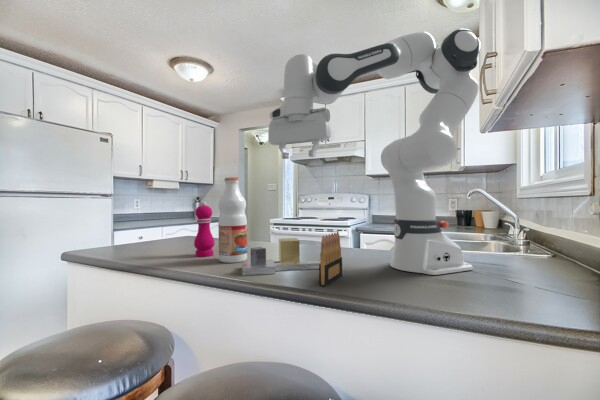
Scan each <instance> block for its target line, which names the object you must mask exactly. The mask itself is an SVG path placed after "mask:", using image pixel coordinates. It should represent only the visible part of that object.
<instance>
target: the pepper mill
mask: <svg viewBox="0 0 600 400" xmlns="http://www.w3.org/2000/svg"><path fill="white" fill-rule="evenodd" d="M194 215H195V217H197V218H196V223H197V225H198V227H197V228H198V230H197V233H196V236H195V238H194V243H193V246H194V248H195V249H196V251H195V257H198V258H207V257H212V256H214V249H213V248H214V246H215V239H214V236H213V234H212V232H211V226H210V225H211V223H212V218H211V217H212V216H213V210H212V208H211V206H209V205H207V202H206V200H205V201H204V200H203V201H202V202H200V205H199V206H197V207H196V209H195V214H194Z"/></svg>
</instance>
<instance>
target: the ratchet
mask: <svg viewBox="0 0 600 400" xmlns="http://www.w3.org/2000/svg"><path fill="white" fill-rule="evenodd" d="M319 264H320V260H307V261H300V262H285V263H279V262H275V261H274V259H267V247H262V246H258V247H251V248H250V260H245V261H242V268H241V275H242V276H257V275H259V276H261V275H274V274H275V275H276V272H281V271H300V270H303V271H304V270H319Z"/></svg>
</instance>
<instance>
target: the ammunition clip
mask: <svg viewBox="0 0 600 400" xmlns="http://www.w3.org/2000/svg"><path fill="white" fill-rule="evenodd" d="M340 236H341V235H340V233H339V231H336V232H334V233H332V232H331V234H330V233H329V234H328V235H327V234H326V235H325V236H324V235H322V237H321V241H320V245H321V246H320V255H319V256H320V259H319V261H320V264H319V269H318V286H319V285H320V287H328V286H330V285H331V284H332V283H334V282H335V281H337V280H339V279H340V278H342V277H343V257H342V249H341V248H342V247H341V238H340Z"/></svg>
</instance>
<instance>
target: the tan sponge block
mask: <svg viewBox="0 0 600 400" xmlns="http://www.w3.org/2000/svg"><path fill="white" fill-rule="evenodd" d="M285 262H301V258H300V240H299V238H297V237H283V238H278V263H285Z"/></svg>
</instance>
